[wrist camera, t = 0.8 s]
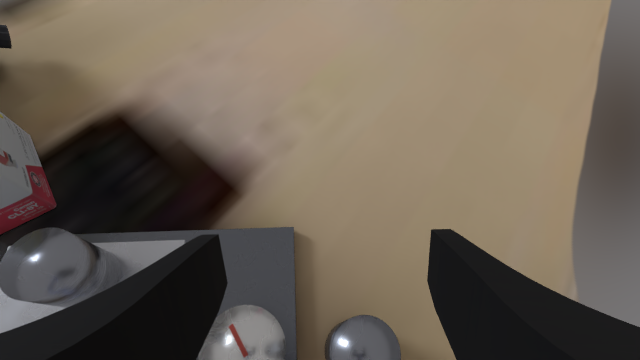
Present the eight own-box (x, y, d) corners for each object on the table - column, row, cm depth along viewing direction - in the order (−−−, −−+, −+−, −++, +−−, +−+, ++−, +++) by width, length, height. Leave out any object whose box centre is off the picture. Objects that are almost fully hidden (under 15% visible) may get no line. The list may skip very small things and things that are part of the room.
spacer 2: (384, 381, 23) (406, 390, 18) (326, 385, 22) (334, 396, 18) (376, 318, 24) (394, 313, 20) (322, 322, 24) (329, 316, 20)
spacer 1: (114, 308, 22) (67, 299, 17) (49, 311, 21) (-15, 303, 17) (126, 248, 23) (87, 226, 19) (67, 250, 23) (13, 228, 19)
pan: (162, 440, 19) (158, 444, 19) (-60, 460, 18) (-73, 464, 18) (187, 242, 25) (184, 239, 24) (16, 248, 24) (8, 245, 23)
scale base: (298, 444, 21) (298, 452, 19) (-48, 475, 19) (-80, 488, 17) (293, 230, 27) (293, 223, 25) (32, 239, 25) (14, 232, 24)
